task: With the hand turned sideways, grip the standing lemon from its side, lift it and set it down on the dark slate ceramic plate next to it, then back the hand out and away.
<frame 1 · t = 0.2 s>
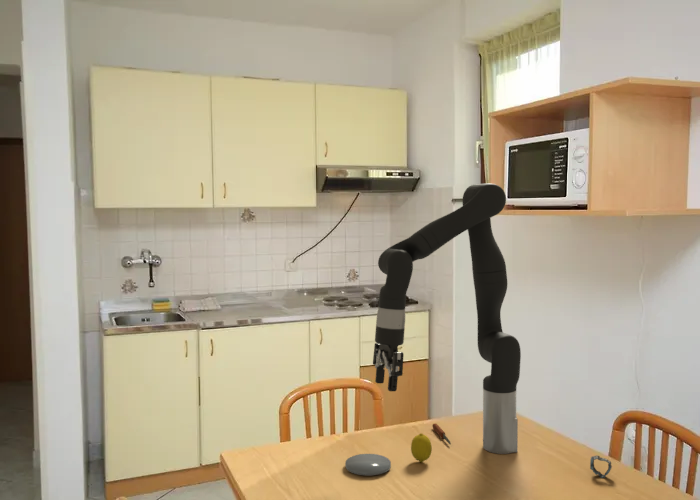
hand: (385, 386, 163), 22 cm above the table, tool pointing down, fingers open, 8 cm apart
dish: (368, 468, 165), on the table
lemon: (421, 463, 168), on the table
kitchen knife: (442, 438, 186), on the table
wristwatch: (600, 477, 158), on the table
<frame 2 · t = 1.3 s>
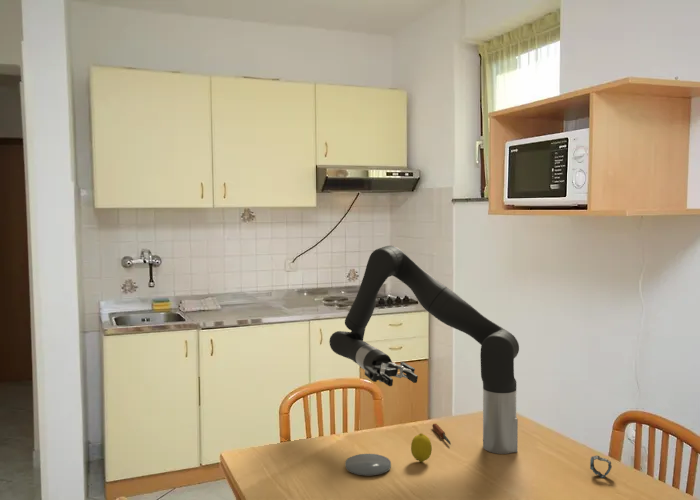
hand: (404, 381, 174), 20 cm above the table, tool horizontal, fingers open, 8 cm apart
nothing on the table moved.
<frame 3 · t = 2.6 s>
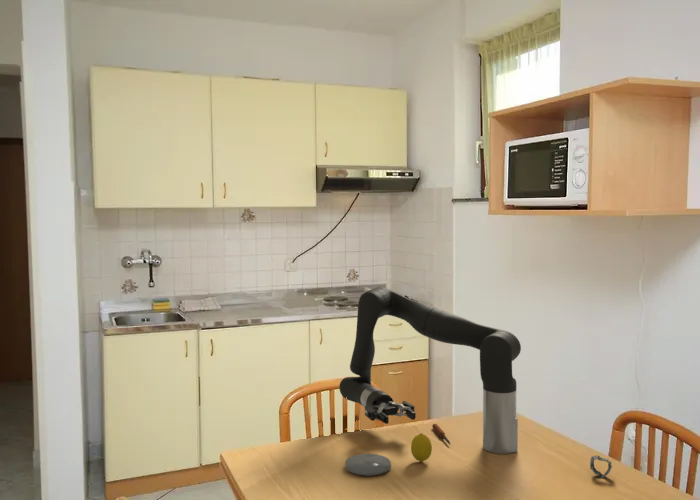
hand: (400, 418, 178), 9 cm above the table, tool horizontal, fingers open, 8 cm apart
nothing on the table moved.
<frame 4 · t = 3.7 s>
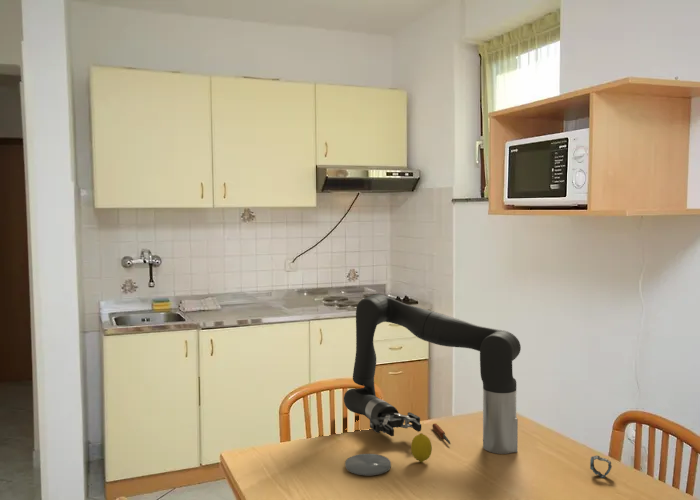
hand: (406, 430, 175), 6 cm above the table, tool horizontal, fingers open, 8 cm apart
nothing on the table moved.
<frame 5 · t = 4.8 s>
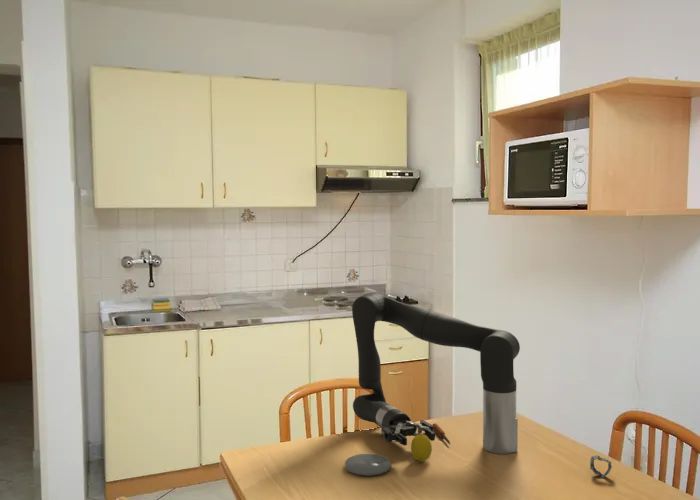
hand: (419, 439, 168), 6 cm above the table, tool horizontal, fingers open, 8 cm apart
nothing on the table moved.
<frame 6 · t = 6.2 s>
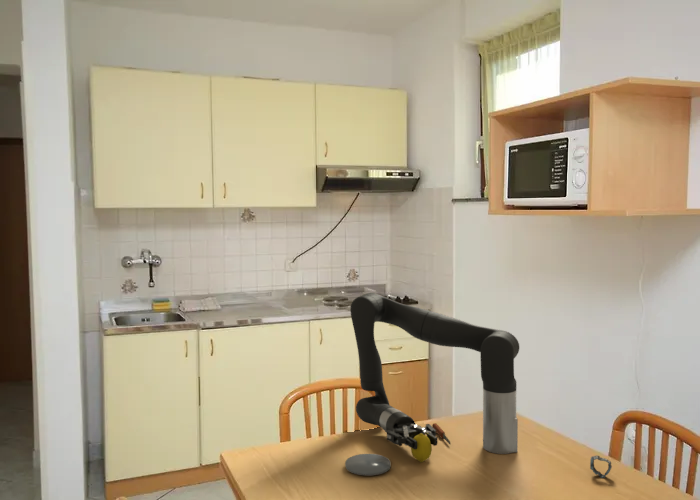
hand: (426, 443, 165), 6 cm above the table, tool horizontal, fingers closed on lemon, 5 cm apart
lemon: (421, 463, 168), on the table, touching gripper
everything else where it was.
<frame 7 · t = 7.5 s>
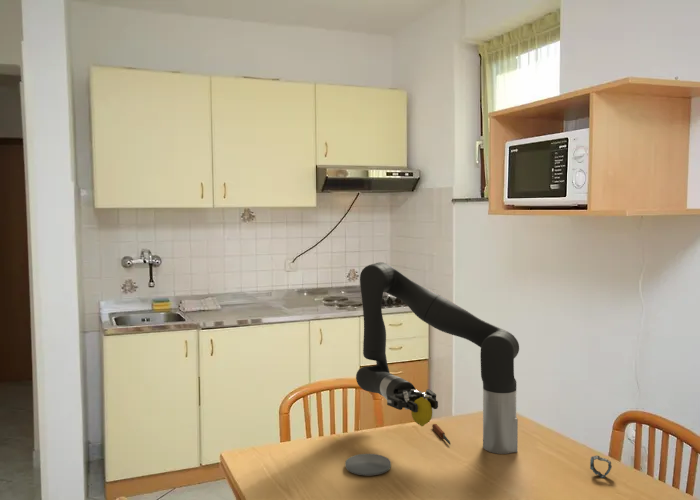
hand: (426, 406, 165), 16 cm above the table, tool horizontal, fingers closed on lemon, 5 cm apart
lemon: (422, 427, 167), point 10 cm above the table, touching gripper
everything else where it was.
when the fingers open (9 cm above the table, at t = 11.4 s): lemon drops 1 cm, resting on dish.
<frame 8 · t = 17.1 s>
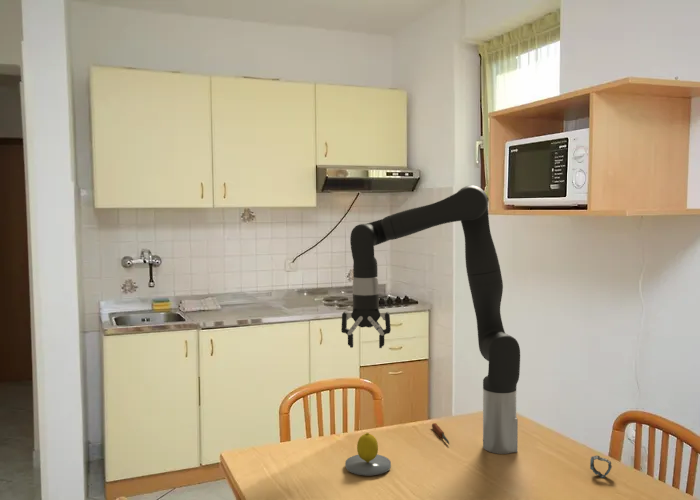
hand: (366, 347, 182), 28 cm above the table, tool pointing down, fingers open, 8 cm apart
lemon: (367, 463, 165), point 1 cm above the table, touching dish
everything else where it was.
at the end: lemon inside the target area on the dish (0.1 cm from its centre), point 1.3 cm above the dish's base; the gripper is holding nothing; lemon tilted 0° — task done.
